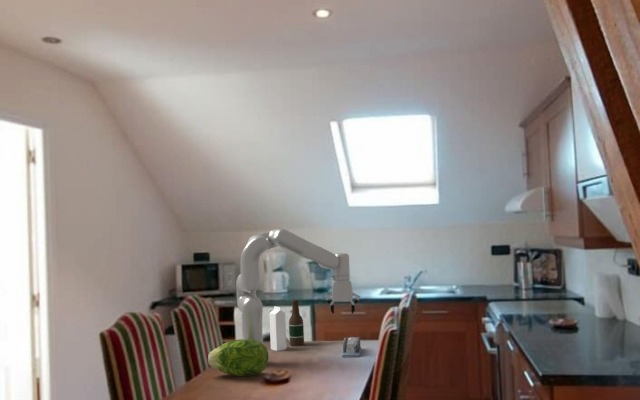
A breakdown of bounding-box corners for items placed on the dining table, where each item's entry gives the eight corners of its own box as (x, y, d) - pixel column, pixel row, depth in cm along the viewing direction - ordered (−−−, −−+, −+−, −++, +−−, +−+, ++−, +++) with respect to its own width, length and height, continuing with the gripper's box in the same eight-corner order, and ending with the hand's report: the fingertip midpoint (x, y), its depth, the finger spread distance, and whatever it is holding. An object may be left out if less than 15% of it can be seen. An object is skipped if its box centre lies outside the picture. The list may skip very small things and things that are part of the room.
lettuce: (214, 371, 262) (213, 336, 262) (272, 371, 257) (271, 335, 258) (202, 380, 247) (201, 343, 248) (264, 380, 243) (262, 342, 243)
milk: (276, 351, 300) (275, 307, 301) (270, 349, 305) (268, 306, 306) (286, 349, 304) (285, 306, 305) (280, 347, 309) (278, 305, 310)
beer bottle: (303, 346, 310) (302, 300, 311) (289, 346, 310) (287, 301, 312) (304, 343, 318) (302, 298, 319) (290, 343, 318) (288, 299, 319)
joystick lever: (355, 353, 281) (355, 344, 281) (346, 353, 282) (345, 344, 282) (357, 346, 298) (357, 337, 299) (348, 346, 299) (348, 337, 299)
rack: (359, 356, 279) (358, 342, 279) (342, 357, 280) (341, 343, 280) (361, 349, 297) (360, 335, 297) (345, 349, 297) (344, 336, 298)
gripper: (323, 279, 288) (324, 314, 287) (359, 278, 285) (359, 314, 285) (325, 277, 295) (326, 312, 294) (359, 277, 293) (360, 312, 292)
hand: (342, 313), depth 289 cm, fingers open, 9 cm apart
